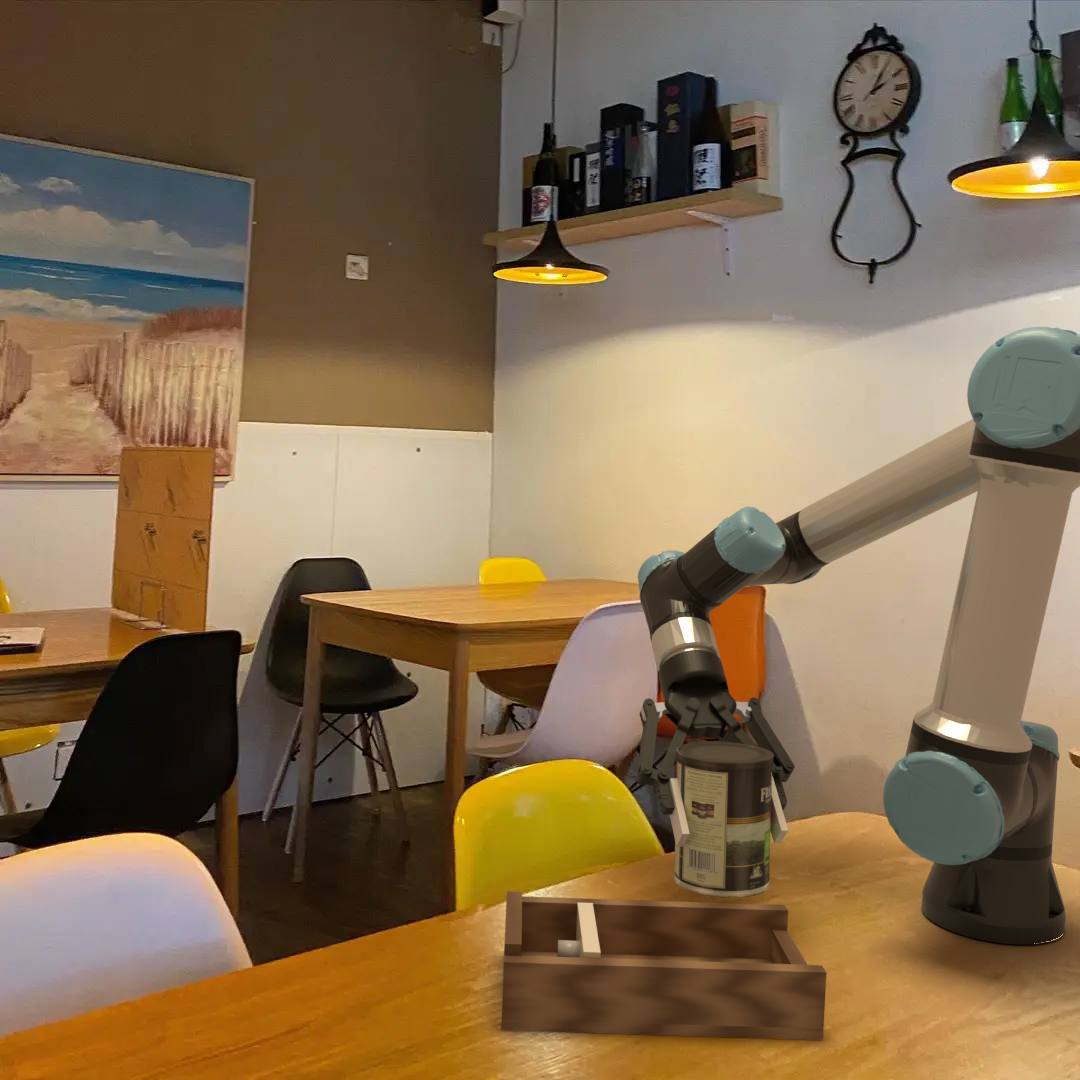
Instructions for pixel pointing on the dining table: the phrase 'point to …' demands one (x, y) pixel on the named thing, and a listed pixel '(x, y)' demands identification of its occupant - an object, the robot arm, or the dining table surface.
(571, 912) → the wooden tray
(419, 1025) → the dining table surface
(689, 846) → the coffee can
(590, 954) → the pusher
